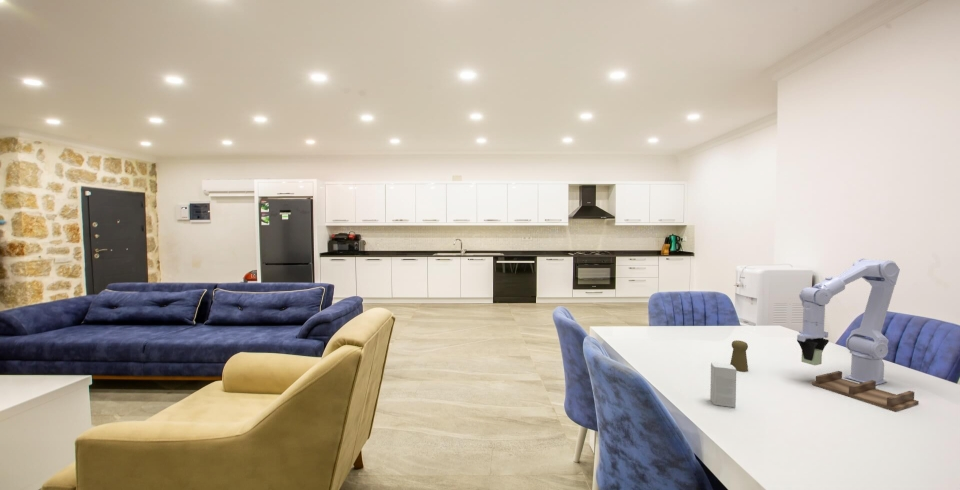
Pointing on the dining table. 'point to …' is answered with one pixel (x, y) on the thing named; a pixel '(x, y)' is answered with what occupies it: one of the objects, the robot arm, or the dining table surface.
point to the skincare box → (723, 385)
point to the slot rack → (865, 392)
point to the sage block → (814, 358)
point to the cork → (739, 356)
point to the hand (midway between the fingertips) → (811, 358)
